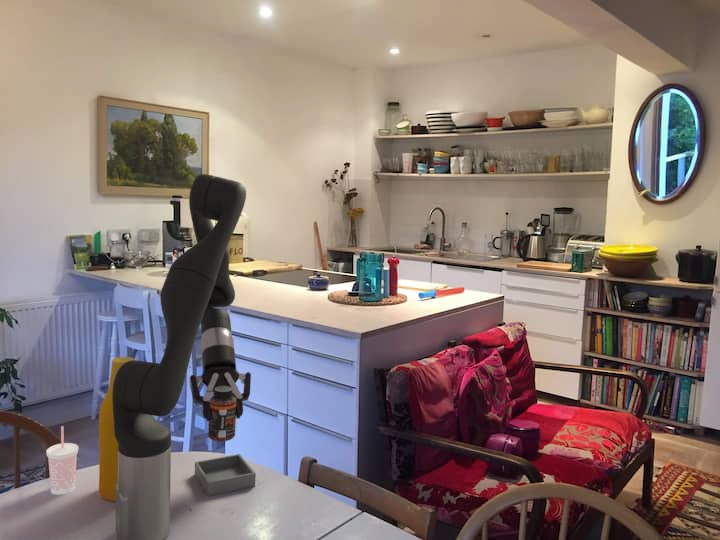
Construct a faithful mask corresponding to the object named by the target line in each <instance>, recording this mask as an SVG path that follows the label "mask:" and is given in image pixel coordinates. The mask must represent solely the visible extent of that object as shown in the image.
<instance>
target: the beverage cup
mask: <svg viewBox="0 0 720 540" xmlns="http://www.w3.org/2000/svg"><path fill="white" fill-rule="evenodd" d="M64 429H65V428H64V425H61V427H60V432H61V433H60V439H61V441H60V443H57V444H54V445H51V446H50V447H48V448H47V449H46V457H47V460H48V470H49V471H48V472H49V483H50V492H51V494H52V495H66V494H69V493H71V492H73V491H74V490H75V489H76V474H77V461H78V460H77V459H78V452H79V444H78V445H77V444H76V443H71V442H65V440H64V439H65V436H64V435H65V434H64V431H65V430H64Z"/></svg>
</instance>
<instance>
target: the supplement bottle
mask: <svg viewBox="0 0 720 540" xmlns="http://www.w3.org/2000/svg"><path fill="white" fill-rule="evenodd" d="M232 394H233V389H232V388H231V387H229V386H218V387H216V388H215V389H214V392H213V396H211V397H210V399H209V401H208V402H210V416H211V417H210V421H208V429H207V430H208V432H207V433H208V438H209V439H210V440H212V441H215V442H227V441H231V440H232V439H234V438H235V436H236V423H237V419H236V398H235V397H234V396H233V395H232Z"/></svg>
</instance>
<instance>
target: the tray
mask: <svg viewBox="0 0 720 540" xmlns="http://www.w3.org/2000/svg"><path fill="white" fill-rule="evenodd" d="M256 475H257V474H256V472H255V471H254V470H253V468H252V467H251V466H250V465H249V463H248V462H247V461H246V460H245V458H244V457H243V455H241V454H240V453H238V454H233V455H232V454H231V455H226V456H222V457H216V458H215V457H214V458H210V459H204V460H199V461H194V476H195V478H196V477H197V478H196V480H197V481H198V482H199V484H200V485H201V487H202V489H203V490H204V492H205V494H206V496H208V497H210V496H215V495H219V494H223V493H229V492H234V491H238V490H242V489H243V490H244V489H247V488H251V487H253V488H254V487H256Z"/></svg>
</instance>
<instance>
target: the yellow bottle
mask: <svg viewBox="0 0 720 540" xmlns="http://www.w3.org/2000/svg"><path fill="white" fill-rule="evenodd" d="M132 360H135V358H133V357H130V356H122V357H121V356H120V357H115V358H113V359H112V361H111V368H110V376H109V384H108V385H109V386H108V390H107V392H106V394H105V395H104V398H103V400H102V401H101V404H100V409H99V414H98V418H99V419H98V421H99V422H98V423H99V424H98V425H99V426H98V432H99V435H98V438H99V439H98V442H99V444H98V445H99V447H98V448H99V449H98V450H99V451H98V454H99V456H98V457H99V459H98V460H99V461H98V463H99V467H98V469H99V474H98V475H99V477H98V481H99V482H98V490H99V495H100V496H101V498H102V499H104V500H106V501H109V502H116V484H118V442H117V440H116V438H115V434H114V419H113V402H112V391H113V383H114V379H115V376H116V373H117V371H118V370H119V368H120V367H121V366H122V365H123V364H124V363H126V362H128V361H132Z"/></svg>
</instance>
